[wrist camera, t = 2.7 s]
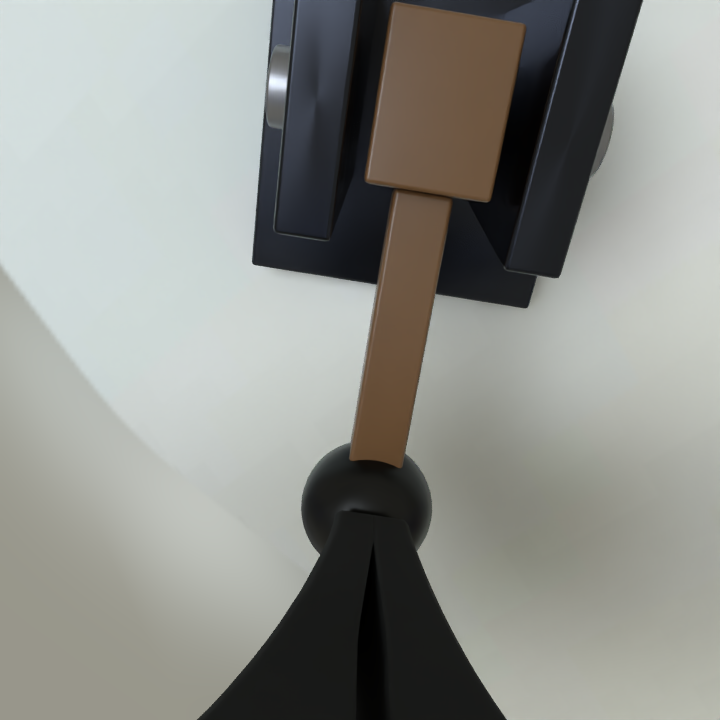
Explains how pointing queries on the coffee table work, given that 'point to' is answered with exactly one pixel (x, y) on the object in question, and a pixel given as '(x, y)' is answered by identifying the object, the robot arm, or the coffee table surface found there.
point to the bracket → (468, 218)
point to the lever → (415, 241)
